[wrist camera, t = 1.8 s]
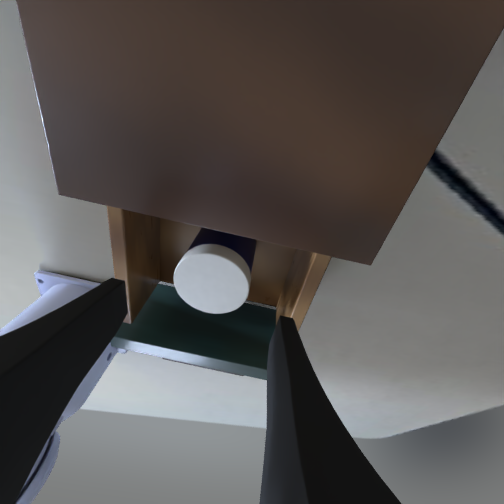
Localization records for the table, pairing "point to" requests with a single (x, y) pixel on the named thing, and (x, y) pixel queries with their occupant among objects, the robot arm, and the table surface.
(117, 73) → the cabinet
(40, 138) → the table surface
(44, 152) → the table surface
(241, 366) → the drawer
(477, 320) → the table surface
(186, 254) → the blue jar
